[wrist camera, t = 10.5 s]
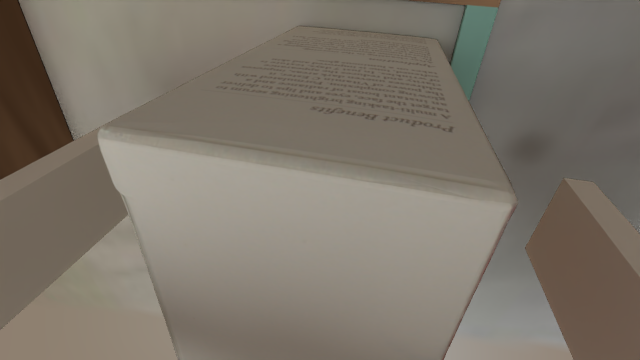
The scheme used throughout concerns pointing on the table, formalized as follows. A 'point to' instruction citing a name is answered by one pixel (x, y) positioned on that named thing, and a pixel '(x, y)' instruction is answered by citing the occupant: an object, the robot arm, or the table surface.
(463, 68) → the bay
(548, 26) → the table surface
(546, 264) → the robot arm
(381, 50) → the small box
